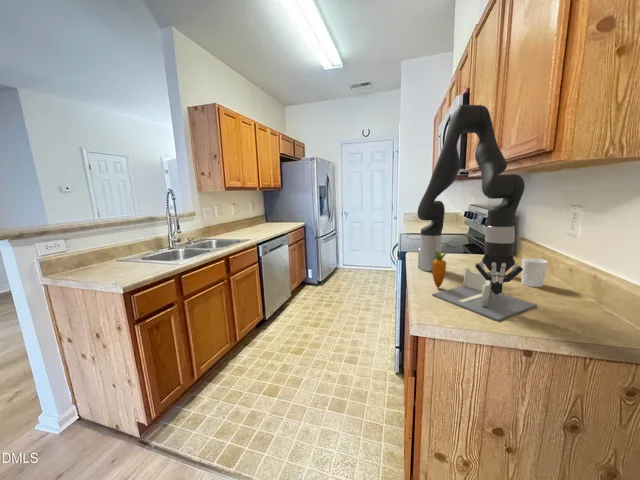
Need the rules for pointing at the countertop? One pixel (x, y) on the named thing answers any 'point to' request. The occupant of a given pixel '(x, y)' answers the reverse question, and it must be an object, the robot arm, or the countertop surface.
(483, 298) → the fence gate
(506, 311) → the card
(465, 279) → the bar
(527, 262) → the white cup
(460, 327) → the countertop surface
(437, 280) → the carrot
